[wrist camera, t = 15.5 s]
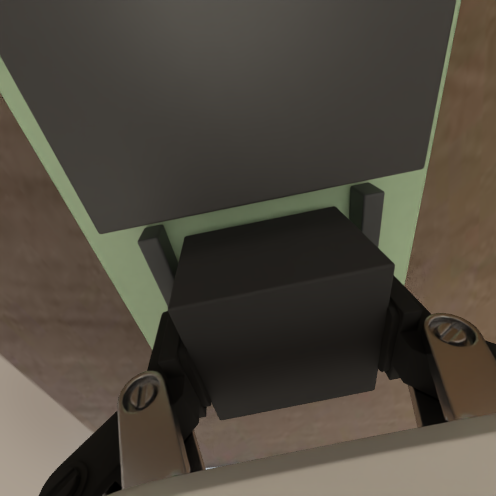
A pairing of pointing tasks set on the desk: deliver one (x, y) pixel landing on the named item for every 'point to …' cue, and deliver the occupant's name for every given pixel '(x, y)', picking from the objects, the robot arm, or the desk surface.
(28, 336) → the desk surface
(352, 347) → the black block
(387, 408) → the desk surface
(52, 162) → the dock
